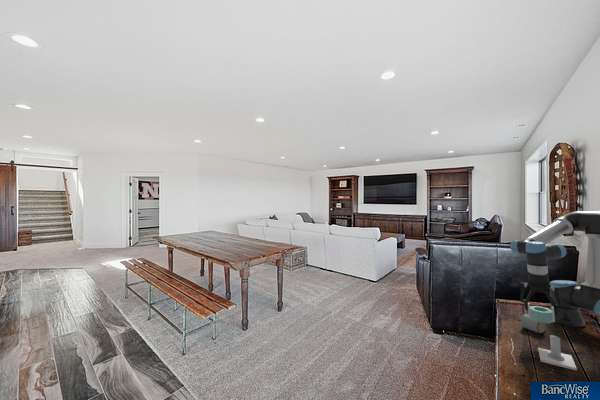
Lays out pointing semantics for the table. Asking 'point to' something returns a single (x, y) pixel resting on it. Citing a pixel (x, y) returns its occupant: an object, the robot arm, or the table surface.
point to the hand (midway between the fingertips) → (541, 318)
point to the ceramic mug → (532, 324)
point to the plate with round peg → (556, 355)
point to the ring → (541, 314)
